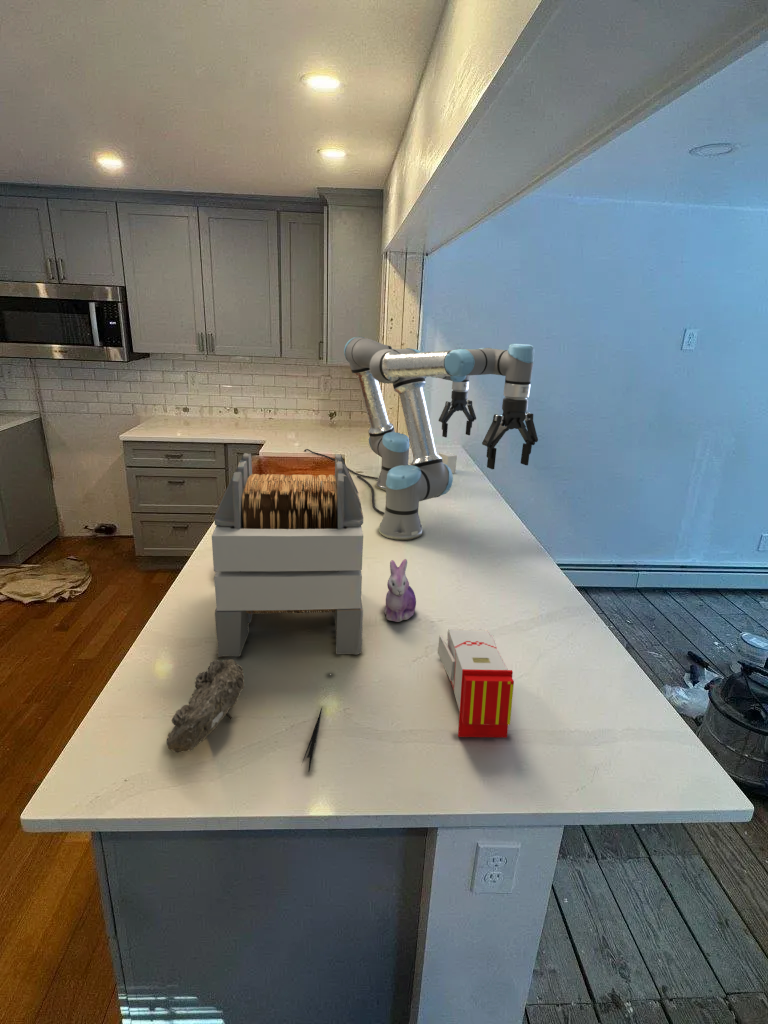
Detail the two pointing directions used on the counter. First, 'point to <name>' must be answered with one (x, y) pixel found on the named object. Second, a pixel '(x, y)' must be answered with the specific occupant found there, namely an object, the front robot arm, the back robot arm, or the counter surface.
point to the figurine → (399, 594)
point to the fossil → (206, 705)
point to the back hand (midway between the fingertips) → (456, 435)
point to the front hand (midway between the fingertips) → (507, 466)
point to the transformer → (288, 552)
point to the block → (449, 460)
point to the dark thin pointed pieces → (313, 740)
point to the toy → (478, 682)
